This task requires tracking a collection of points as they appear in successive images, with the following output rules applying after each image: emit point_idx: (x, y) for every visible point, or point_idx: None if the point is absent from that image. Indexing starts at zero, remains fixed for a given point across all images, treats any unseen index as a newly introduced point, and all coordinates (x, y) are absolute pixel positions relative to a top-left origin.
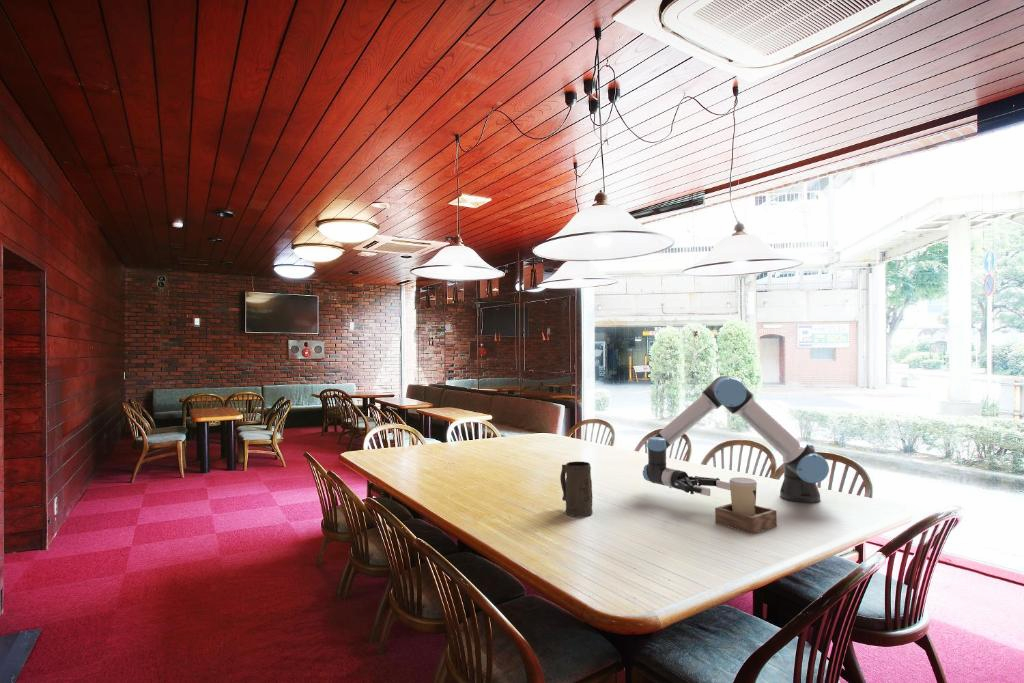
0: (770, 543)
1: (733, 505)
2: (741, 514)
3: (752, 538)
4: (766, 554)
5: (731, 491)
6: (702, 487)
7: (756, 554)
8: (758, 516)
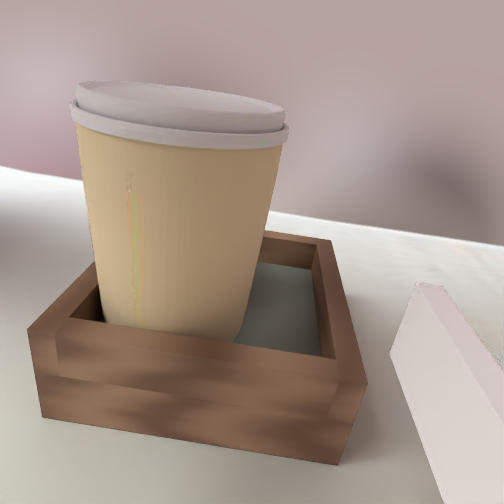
0: (344, 260)
1: (240, 301)
2: (329, 266)
3: (358, 291)
4: (424, 254)
5: (252, 214)
6: (490, 353)
7: (452, 265)
8: (284, 234)
